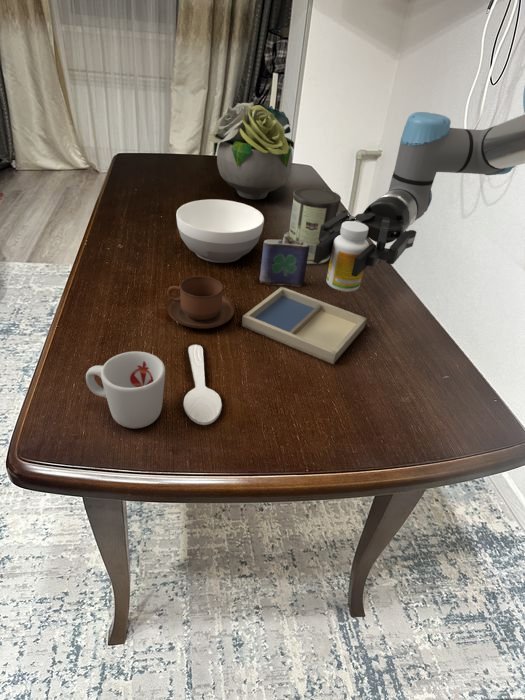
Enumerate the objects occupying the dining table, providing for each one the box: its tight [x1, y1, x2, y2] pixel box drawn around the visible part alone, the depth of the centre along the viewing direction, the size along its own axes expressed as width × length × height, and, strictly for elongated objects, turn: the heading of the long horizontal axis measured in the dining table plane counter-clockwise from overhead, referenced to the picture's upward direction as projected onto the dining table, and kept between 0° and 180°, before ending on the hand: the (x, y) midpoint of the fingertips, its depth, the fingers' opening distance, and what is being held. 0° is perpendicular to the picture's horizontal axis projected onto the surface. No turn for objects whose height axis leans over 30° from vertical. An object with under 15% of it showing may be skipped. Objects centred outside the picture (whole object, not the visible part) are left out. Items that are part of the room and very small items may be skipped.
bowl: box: [175, 199, 265, 264], centre depth 108 cm, size 19×19×9 cm
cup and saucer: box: [166, 275, 236, 330], centre depth 87 cm, size 12×12×6 cm
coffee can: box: [288, 186, 342, 265], centre depth 110 cm, size 10×10×14 cm
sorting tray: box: [241, 286, 367, 365], centre depth 88 cm, size 18×14×2 cm
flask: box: [259, 231, 309, 287], centre depth 99 cm, size 9×3×11 cm, turn 91°
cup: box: [85, 351, 166, 429], centre depth 65 cm, size 11×8×8 cm
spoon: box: [182, 344, 223, 426], centre depth 73 cm, size 5×18×1 cm, turn 11°
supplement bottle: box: [326, 221, 370, 293], centre depth 75 cm, size 5×5×10 cm
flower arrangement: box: [208, 101, 295, 200], centre depth 136 cm, size 25×25×24 cm
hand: (336, 260), depth 70 cm, fingers closed on supplement bottle, 5 cm apart
